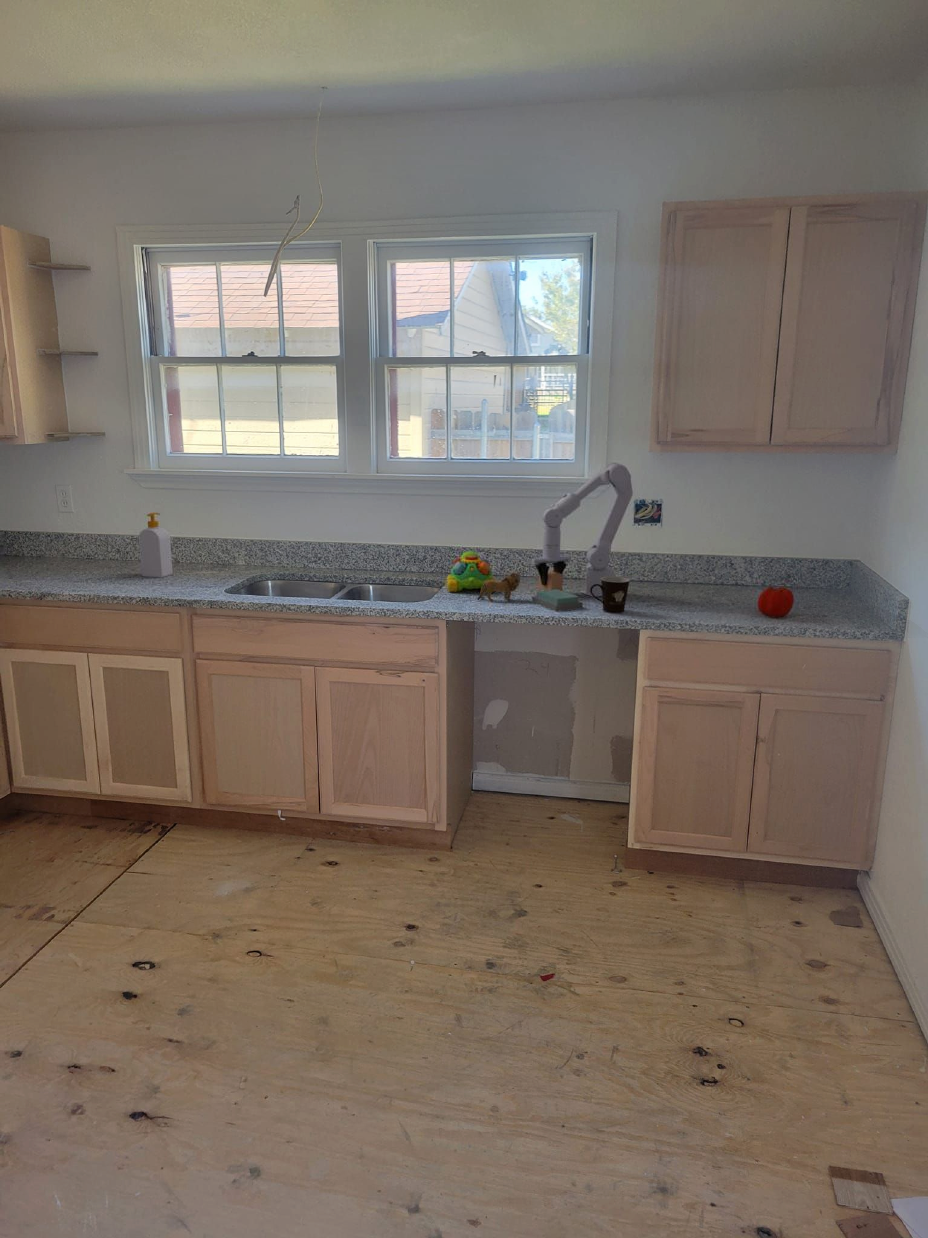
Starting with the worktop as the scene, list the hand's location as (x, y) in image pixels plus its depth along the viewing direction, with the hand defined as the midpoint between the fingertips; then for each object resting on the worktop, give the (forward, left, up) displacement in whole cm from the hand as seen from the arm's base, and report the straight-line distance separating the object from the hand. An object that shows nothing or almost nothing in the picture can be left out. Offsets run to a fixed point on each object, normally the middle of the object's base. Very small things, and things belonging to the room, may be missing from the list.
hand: (550, 584), depth 281 cm
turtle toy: (+20, -20, -4) cm, 29 cm away
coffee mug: (-3, +28, -4) cm, 29 cm away
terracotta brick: (0, 0, -2) cm, 2 cm away
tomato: (-46, +55, -4) cm, 72 cm away
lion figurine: (+20, 0, -4) cm, 20 cm away
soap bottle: (+115, -87, -4) cm, 144 cm away
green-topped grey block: (+7, +15, -3) cm, 17 cm away
